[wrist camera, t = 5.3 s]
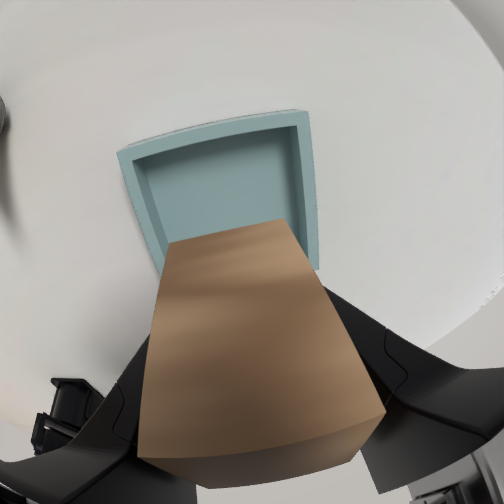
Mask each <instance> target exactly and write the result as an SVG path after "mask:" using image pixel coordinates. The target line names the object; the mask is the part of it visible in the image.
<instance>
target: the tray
mask: <svg viewBox="0 0 504 504" xmlns="http://www.w3.org/2000/svg"><path fill="white" fill-rule="evenodd" d="M116 153H117V156H118V160H119V163H120V167H121V170H122V173H123V177H124V180H125V183H126V186H127V189H128V192H129V195H130V198H131V201H132V204H133V207H134V210H135V213H136V216H137V218H138V221H139V224H140V227H141V229H142V232H143V235H144V237H145V240H146V243H147V245H148V248H149V250H150V253H151V255H152V258H153V260H154V263H155V265H156V267H157V270H158V272H159V275H160V277H161V276H162V271H163V267H164V262H165V258H166V254H167V250H168V246H169V243H172V242H176V241H180V240H185V239H189V238H193V237H198V236H202V235H207V234H211V233H216V232H220V231H225V230H230V229H234V228H239V227H244V226H249V225H253V224H258V223H263V222H268V221H273V220H278V219H283V218H284V219H285V221H286V222H287V224H288V226H289V228H290V229H291V231H292V233H293V234H294V236H295V238H296V239H297V241H298V243H299V245H300V246H301V248H302V250H303V252H304V253H305V255H306V257H307V259H308V260H309V262H310V264H311V266H312V267H313V269H314V271H315V270H319V244H318V219H317V201H316V186H315V173H314V161H313V150H312V140H311V131H310V122H309V114H308V111H303V110H295V109H294V110H284V111H276V112H268V113H261V114H254V115H248V116H242V117H236V118H231V119H226V120H221V121H216V122H211V123H206V124H202V125H197V126H193V127H189V128H185V129H181V130H177V131H173V132H170V133H166V134H163V135H159V136H156V137H152V138H149V139H146V140H143V141H139V142H136V143H133V144H130V145H128V146H126V147H125V148H123V149H121V150H120V151H118V152H116Z"/></svg>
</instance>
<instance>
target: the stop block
mask: <svg viewBox="0 0 504 504" xmlns="http://www.w3.org/2000/svg"><path fill="white" fill-rule="evenodd" d="M385 414H386V410H385V408H384V406H383V404H382V402H381V400H380V397H379V395H378V393H377V391H376V389H375V387H374V385H373V383H372V381H371V378H370V376H369V374H368V372H367V370H366V368H365V366H364V364H363V362H362V360H361V358H360V356H359V354H358V352H357V350H356V348H355V346H354V344H353V342H352V340H351V338H350V336H349V334H348V332H347V330H346V329H345V327H344V325H343V323H342V321H341V319H340V317H339V315H338V313H337V311H336V310H335V308H334V306H333V304H332V302H331V300H330V298H329V296H328V295H327V293H326V291H325V289H324V287H323V285H322V284H321V282H320V280H319V278H318V276H317V275H316V273H315V271H314V269H313V267H312V266H311V264H310V262H309V260H308V259H307V257H306V255H305V253H304V252H303V250H302V248H301V246H300V245H299V243H298V241H297V239H296V238H295V236H294V234H293V233H292V231H291V229H290V228H289V226H288V224H287V222H286V221H285V219H284V218H283V219H278V220H273V221H268V222H263V223H258V224H253V225H249V226H244V227H239V228H234V229H230V230H225V231H220V232H216V233H211V234H207V235H202V236H198V237H193V238H189V239H185V240H180V241H176V242H172V243H169V246H168V250H167V254H166V258H165V262H164V267H163V271H162V276H161V280H160V285H159V290H158V295H157V300H156V305H155V310H154V315H153V321H152V327H151V332H150V339H149V345H148V351H147V358H146V365H145V373H144V381H143V389H142V398H141V408H140V420H139V434H138V452H137V457H138V458H140V459H142V460H144V461H146V462H148V463H150V464H152V465H154V466H156V467H158V468H160V469H162V470H164V471H166V472H168V473H170V474H173V475H175V476H177V477H179V478H182V479H184V480H187V481H189V482H192V483H194V484H197V485H199V486H202V487H205V488H208V489H216V488H229V487H240V486H249V485H256V484H262V483H269V482H275V481H280V480H285V479H290V478H294V477H299V476H302V475H307V474H311V473H315V472H318V471H322V470H325V469H329V468H332V467H335V466H338V465H341V464H344V463H347V462H350V461H351V459H352V458H353V457H354V456H355V455H356V453H357V452H358V451H359V450H360V448H361V447H362V446H363V445H364V443H365V442H366V441H367V439H368V438H369V437H370V435H371V434H372V432H373V431H374V430H375V428H376V427H377V425H378V424H379V423H380V421H381V420H382V418H383V417H384V415H385Z"/></svg>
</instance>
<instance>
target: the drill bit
mask: <svg viewBox="0 0 504 504" xmlns="http://www.w3.org/2000/svg"><path fill="white" fill-rule="evenodd" d="M4 120H5V105H4V102H3V100H2V98H1V96H0V134H1V131H2V128H3V124H4Z"/></svg>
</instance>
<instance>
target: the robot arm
mask: <svg viewBox="0 0 504 504" xmlns="http://www.w3.org/2000/svg"><path fill="white" fill-rule="evenodd" d="M323 287H324V286H323ZM324 289H325V291H326V293H327V295H328V296H329V298H330V300H331V302H332V304H333V306H334V308H335V310H336V311H337V313H338V315H339V317H340V319H341V321H342V323H343V325H344V327H345V329H346V330H347V332H348V334H349V336H350V338H351V340H352V342H353V344H354V346H355V348H356V350H357V352H358V354H359V356H360V358H361V360H362V362H363V364H364V366H365V368H366V370H367V372H368V374H369V376H370V378H371V381H372V383H373V385H374V387H375V389H376V391H377V393H378V395H379V397H380V400H381V402H382V404H383V406H384V408H385V410H386V414H385V415H384V417H383V418H382V420H381V421H380V423H379V424H378V425H377V427H376V428H375V430H374V431H373V432H372V434H371V435H370V437H369V438H368V439H367V441H366V442H365V443H364V445H363V446H362V447H361V448H360V450H361V453H362V455H363V457H364V460H365V462H366V464H367V467H368V469H369V472H370V474H371V476H372V479H373V481H374V484H375V486H376V489H377V491H378V493H379V494H382V493H385V492H388V491H391V490H394V489H397V488H399V487H402V486H405V485H407V486H408V488H409V491H410V494H411V497H412V499H413V500H412V501H410V504H504V367H502V368H489V369H464V368H460V367H457V366H454V365H452V364H450V363H448V362H446V361H444V360H442V359H440V358H438V357H436V356H434V355H432V354H430V353H428V352H426V351H425V350H423V349H421V348H419V347H417V346H415V345H414V344H412V343H410V342H408V341H407V340H405V339H403V338H402V337H400V336H399V335H397V334H396V333H394V332H393V331H391V330H390V329H388V328H387V329H386V327H385V326H383V325H382V324H380V323H379V322H377V321H376V320H374V319H373V318H371V317H370V316H368V315H367V314H365V313H364V312H362V311H361V310H359V309H358V308H356V307H355V306H353V305H352V304H350V303H349V302H347V301H346V300H344V299H343V298H341V297H339V296H338V295H336V294H335V293H333V292H332V291H330V290H329V289H327V288H326V287H324ZM149 339H150V334H149V335H148V337H147V338H146V340H145V341H144V343H143V344H142V345H141V347H140V348H139V350H138V351H137V353H136V354H135V355H134V357H133V358H132V360H131V361H130V363H129V364H128V366H127V367H126V369H125V370H124V371H123V373H122V374H121V376H120V377H119V379H118V380H117V383H115V385H114V386H113V388H112V389H111V391H110V392H109V394H108V395H107V396H106V398H105V399H104V398H103V397H102V396H101V395H99V394H98V393H97V392H96V391H95V390H94V389H93V388H92V387H91V386H90V385H89V384H88V383H87V382H86V381H85V380H83V379H57V378H51V383H52V384H53V385H54V386H55V387H56V388H57V390H56V394H55V397H54V401H53V405H52V408H51V412H50V416H49V415H47V413H45V412H43V414H42V413H37V417H36V421H35V425H34V429H33V433H32V438H31V443H32V445H33V447H34V450H35V453H34V455H35V457H32V458H28V459H25V460H21V461H17V462H4V461H2V460H0V482H1V483H2V484H4V485H6V486H7V487H9V488H10V489H9V488H7V487H5V486H3V485H1V484H0V504H197V493H196V484H194V483H192V482H189V481H187V480H184V479H182V478H179V477H177V476H175V475H173V474H170V473H168V472H166V471H164V470H162V469H160V468H158V467H156V466H154V465H152V464H150V463H148V462H146V461H144V460H142V459H140V458H138V457H137V452H138V434H139V420H140V408H141V398H142V389H143V381H144V373H145V365H146V358H147V351H148V345H149ZM44 426H46V427H48V428H49V429H45V428H44ZM11 489H12V490H11ZM13 490H14V491H13ZM15 491H16V492H15Z"/></svg>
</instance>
